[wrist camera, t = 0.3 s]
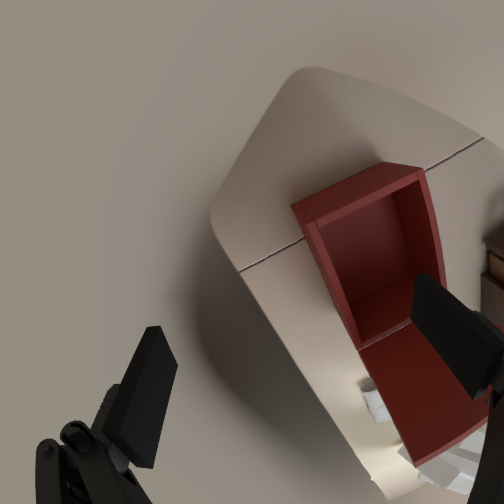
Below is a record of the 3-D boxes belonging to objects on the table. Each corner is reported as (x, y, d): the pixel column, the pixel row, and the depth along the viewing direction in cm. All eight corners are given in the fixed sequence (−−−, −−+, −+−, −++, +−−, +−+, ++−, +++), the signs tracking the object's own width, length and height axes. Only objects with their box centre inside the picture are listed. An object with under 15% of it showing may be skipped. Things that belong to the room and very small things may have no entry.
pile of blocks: (400, 449, 59) (466, 505, 32) (382, 463, 41) (473, 540, 13) (472, 359, 60) (541, 411, 33) (485, 333, 41) (580, 403, 14)
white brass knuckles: (353, 372, 37) (434, 325, 35) (374, 420, 43) (439, 384, 41) (359, 387, 34) (445, 337, 32) (379, 433, 40) (446, 395, 38)
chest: (289, 205, 29) (305, 224, 21) (383, 161, 27) (423, 167, 20) (337, 311, 33) (357, 351, 26) (414, 270, 32) (448, 299, 24)
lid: (414, 462, 10) (415, 468, 10) (550, 355, 8) (548, 364, 8) (357, 351, 25) (359, 356, 26) (449, 298, 24) (450, 304, 24)
